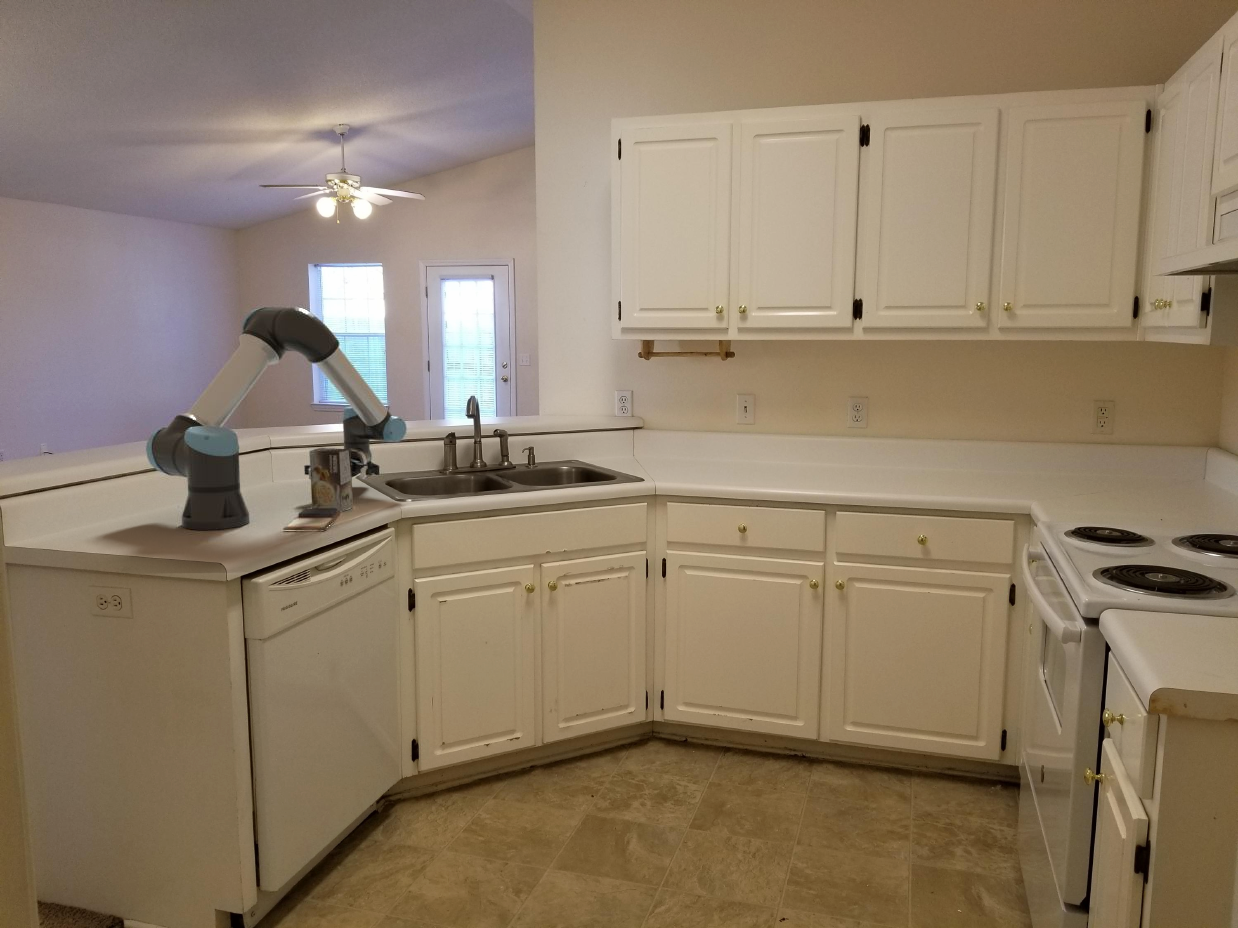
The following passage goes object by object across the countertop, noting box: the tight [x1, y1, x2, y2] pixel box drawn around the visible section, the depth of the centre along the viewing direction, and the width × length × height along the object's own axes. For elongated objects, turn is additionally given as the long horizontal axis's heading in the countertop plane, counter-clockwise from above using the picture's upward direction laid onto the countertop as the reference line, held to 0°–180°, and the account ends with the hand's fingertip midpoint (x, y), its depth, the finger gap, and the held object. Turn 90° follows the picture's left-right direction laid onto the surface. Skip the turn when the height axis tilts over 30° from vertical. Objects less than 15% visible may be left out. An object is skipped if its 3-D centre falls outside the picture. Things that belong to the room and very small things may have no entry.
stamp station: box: [282, 507, 342, 531], centre depth 222 cm, size 10×18×2 cm, turn 6°
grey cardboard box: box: [309, 447, 354, 512], centre depth 239 cm, size 9×6×16 cm
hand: (336, 474), depth 242 cm, fingers open, 13 cm apart
